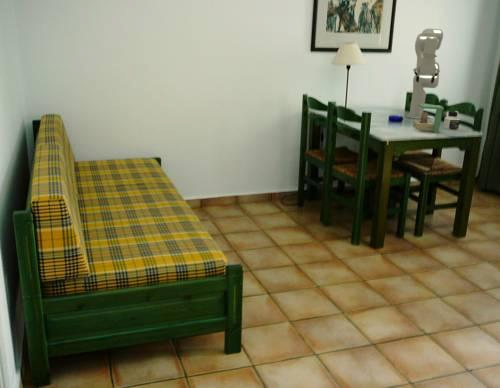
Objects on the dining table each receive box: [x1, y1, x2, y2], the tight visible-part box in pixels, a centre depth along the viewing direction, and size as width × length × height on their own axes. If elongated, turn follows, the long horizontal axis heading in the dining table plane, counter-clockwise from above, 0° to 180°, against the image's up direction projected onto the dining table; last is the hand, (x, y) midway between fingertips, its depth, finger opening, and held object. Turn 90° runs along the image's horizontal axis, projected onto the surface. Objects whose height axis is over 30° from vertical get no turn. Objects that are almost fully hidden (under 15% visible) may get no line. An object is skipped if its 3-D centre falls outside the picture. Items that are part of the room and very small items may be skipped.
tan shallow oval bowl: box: [412, 120, 434, 132], centre depth 347 cm, size 14×10×4 cm
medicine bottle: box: [442, 110, 461, 131], centre depth 349 cm, size 7×7×12 cm
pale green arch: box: [419, 104, 445, 134], centre depth 337 cm, size 10×13×16 cm
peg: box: [420, 111, 429, 123], centre depth 348 cm, size 4×4×10 cm
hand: (424, 82), depth 352 cm, fingers open, 9 cm apart
